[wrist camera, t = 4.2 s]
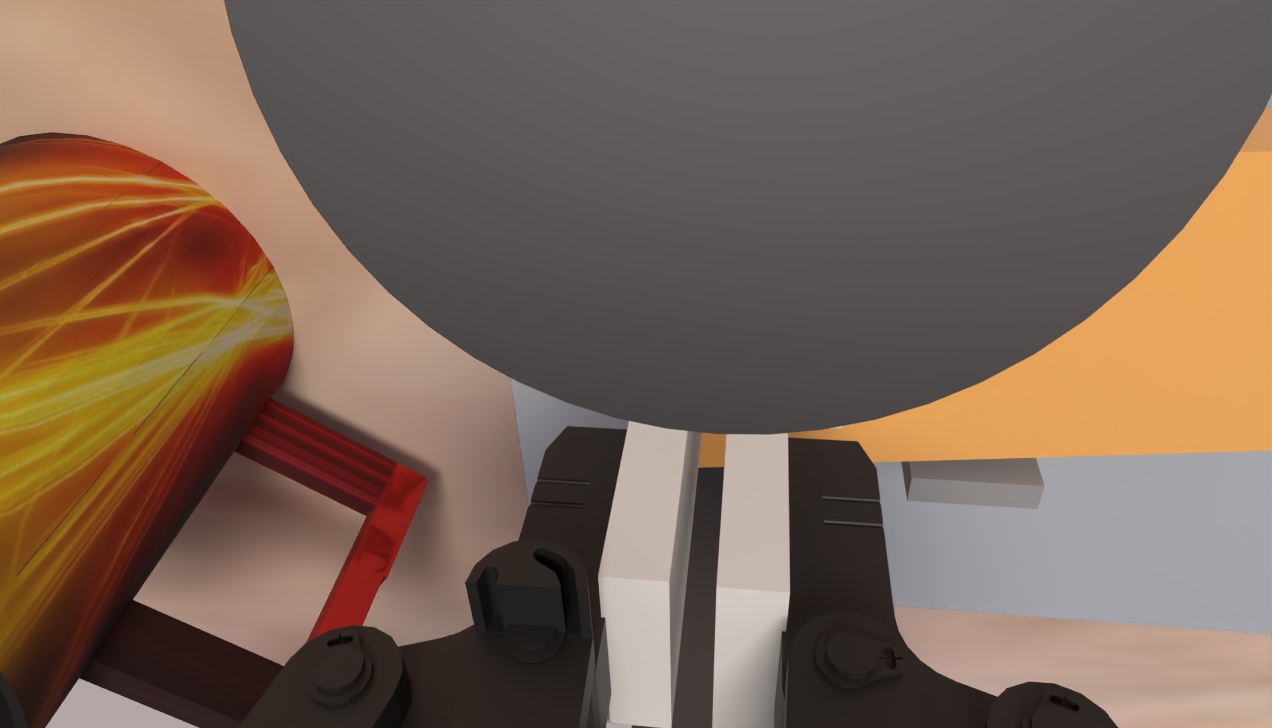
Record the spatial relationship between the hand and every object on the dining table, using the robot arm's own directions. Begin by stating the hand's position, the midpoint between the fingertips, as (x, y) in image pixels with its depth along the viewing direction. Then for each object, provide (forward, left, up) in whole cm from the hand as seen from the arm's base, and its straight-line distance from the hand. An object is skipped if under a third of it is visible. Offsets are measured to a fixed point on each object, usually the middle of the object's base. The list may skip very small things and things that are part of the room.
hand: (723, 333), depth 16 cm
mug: (-15, -5, -8) cm, 18 cm away
